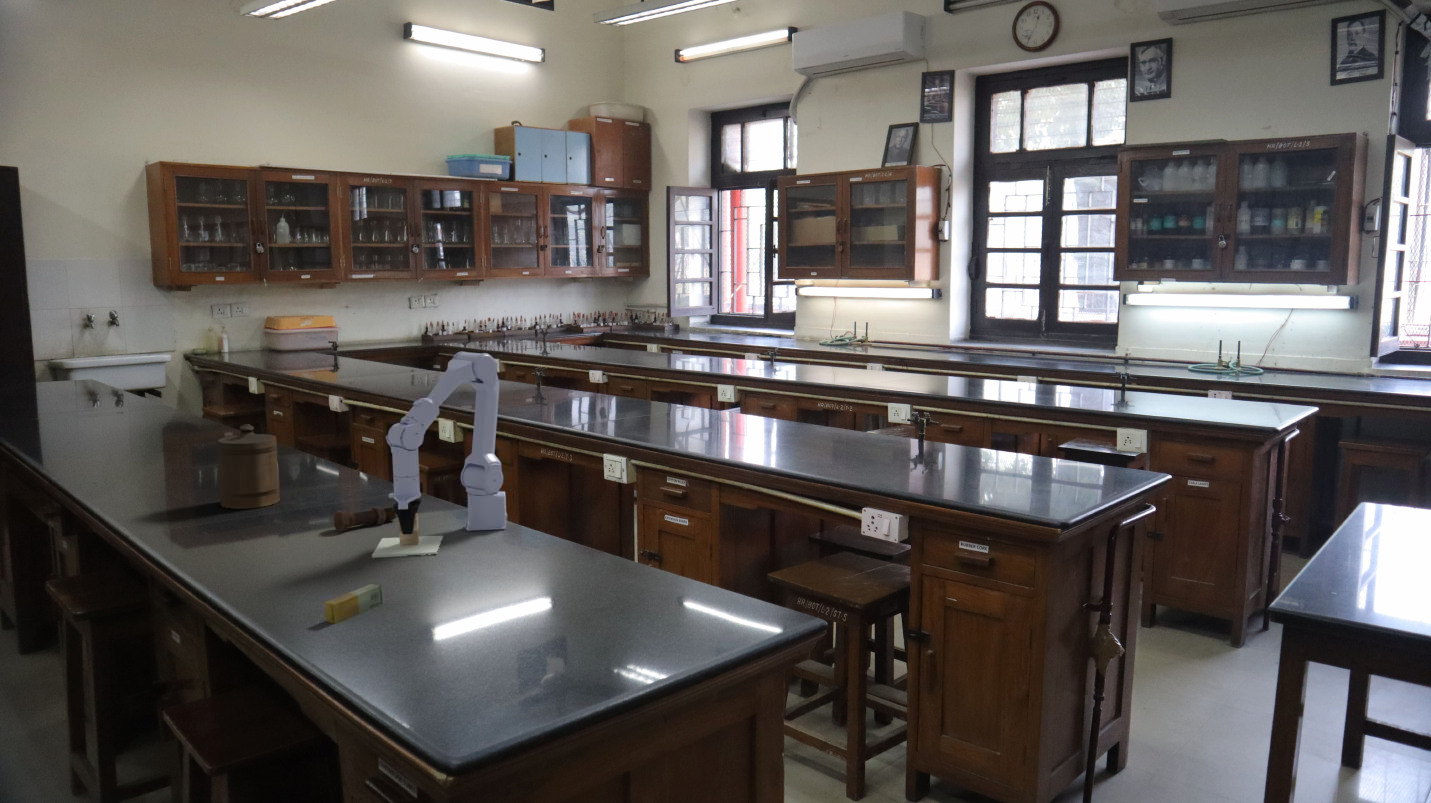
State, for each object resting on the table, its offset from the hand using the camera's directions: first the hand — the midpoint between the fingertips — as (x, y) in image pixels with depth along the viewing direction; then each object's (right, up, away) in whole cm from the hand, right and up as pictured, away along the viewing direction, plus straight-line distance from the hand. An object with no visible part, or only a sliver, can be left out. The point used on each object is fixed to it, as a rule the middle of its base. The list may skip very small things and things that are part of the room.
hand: (408, 532), depth 226 cm
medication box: (+3, -10, -43) cm, 44 cm away
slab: (0, -3, 0) cm, 3 cm away
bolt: (-16, -1, +19) cm, 25 cm away
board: (0, -4, -1) cm, 4 cm away
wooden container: (-57, +2, +42) cm, 71 cm away
